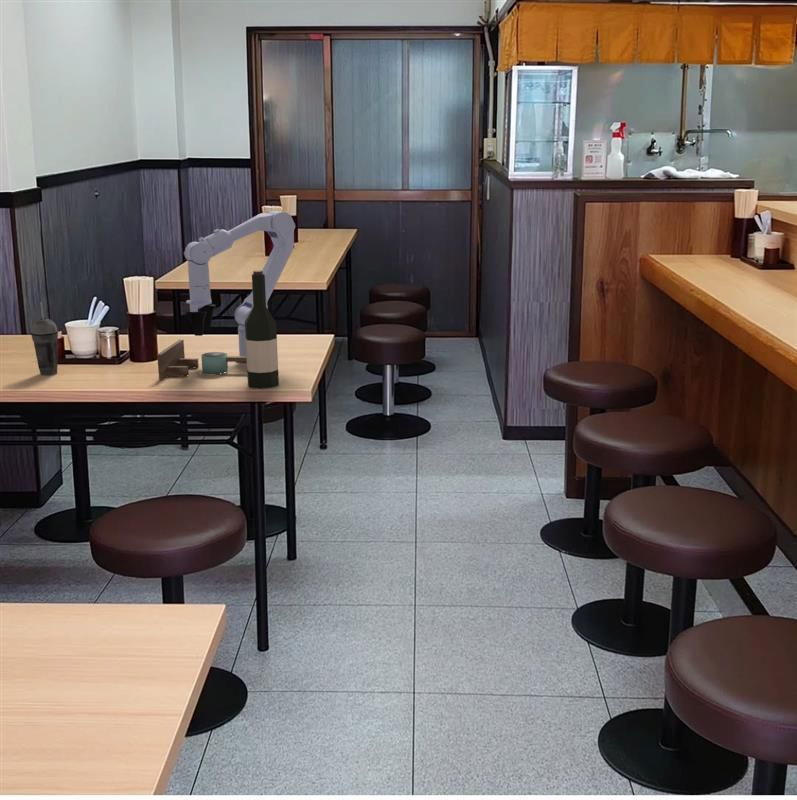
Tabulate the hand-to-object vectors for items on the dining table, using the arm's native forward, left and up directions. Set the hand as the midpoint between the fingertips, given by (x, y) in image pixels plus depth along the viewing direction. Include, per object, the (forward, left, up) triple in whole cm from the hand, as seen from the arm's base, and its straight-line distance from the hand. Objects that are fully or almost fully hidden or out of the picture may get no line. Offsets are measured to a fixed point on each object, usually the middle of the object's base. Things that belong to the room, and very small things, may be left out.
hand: (202, 332), depth 286 cm
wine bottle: (-22, +22, -10) cm, 33 cm away
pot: (-9, +8, -9) cm, 15 cm away
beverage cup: (+41, +12, -10) cm, 44 cm away
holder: (+4, +8, -9) cm, 13 cm away
